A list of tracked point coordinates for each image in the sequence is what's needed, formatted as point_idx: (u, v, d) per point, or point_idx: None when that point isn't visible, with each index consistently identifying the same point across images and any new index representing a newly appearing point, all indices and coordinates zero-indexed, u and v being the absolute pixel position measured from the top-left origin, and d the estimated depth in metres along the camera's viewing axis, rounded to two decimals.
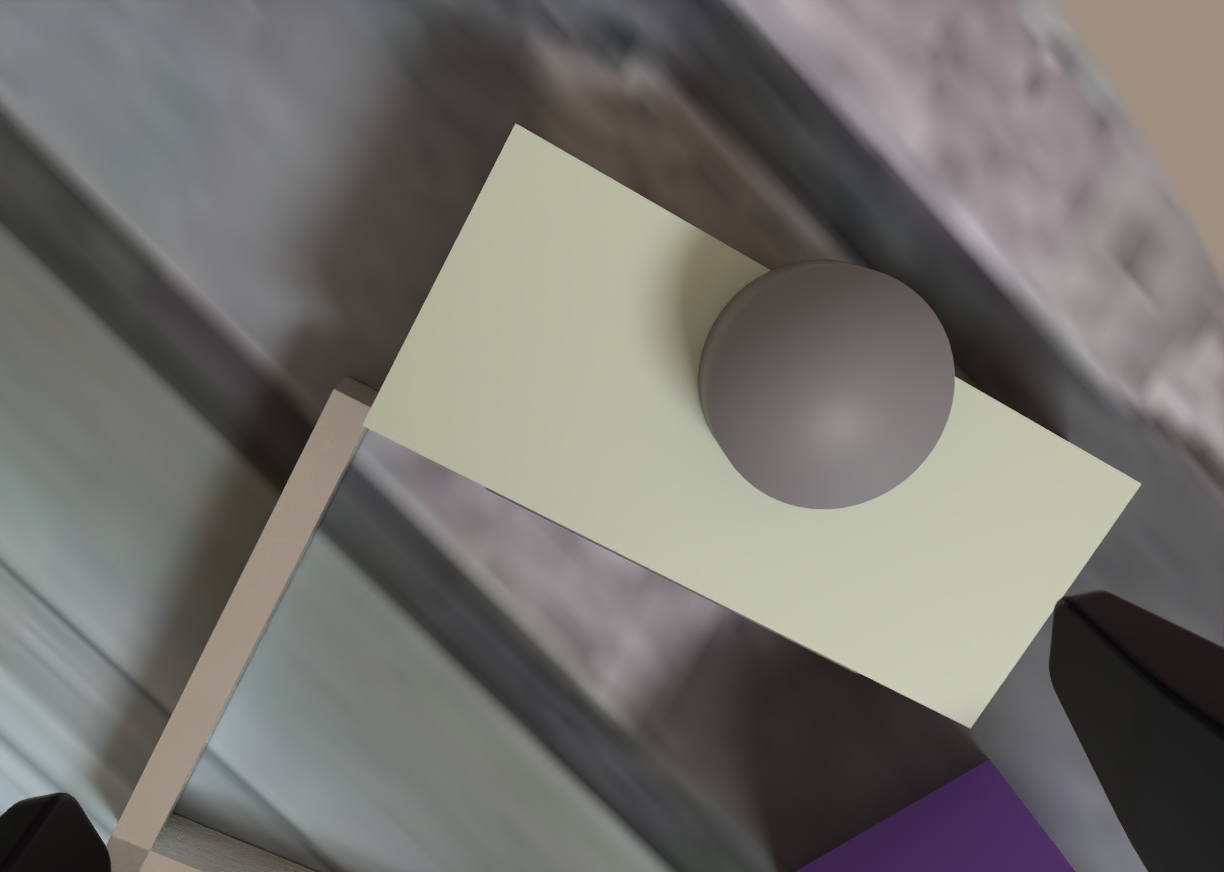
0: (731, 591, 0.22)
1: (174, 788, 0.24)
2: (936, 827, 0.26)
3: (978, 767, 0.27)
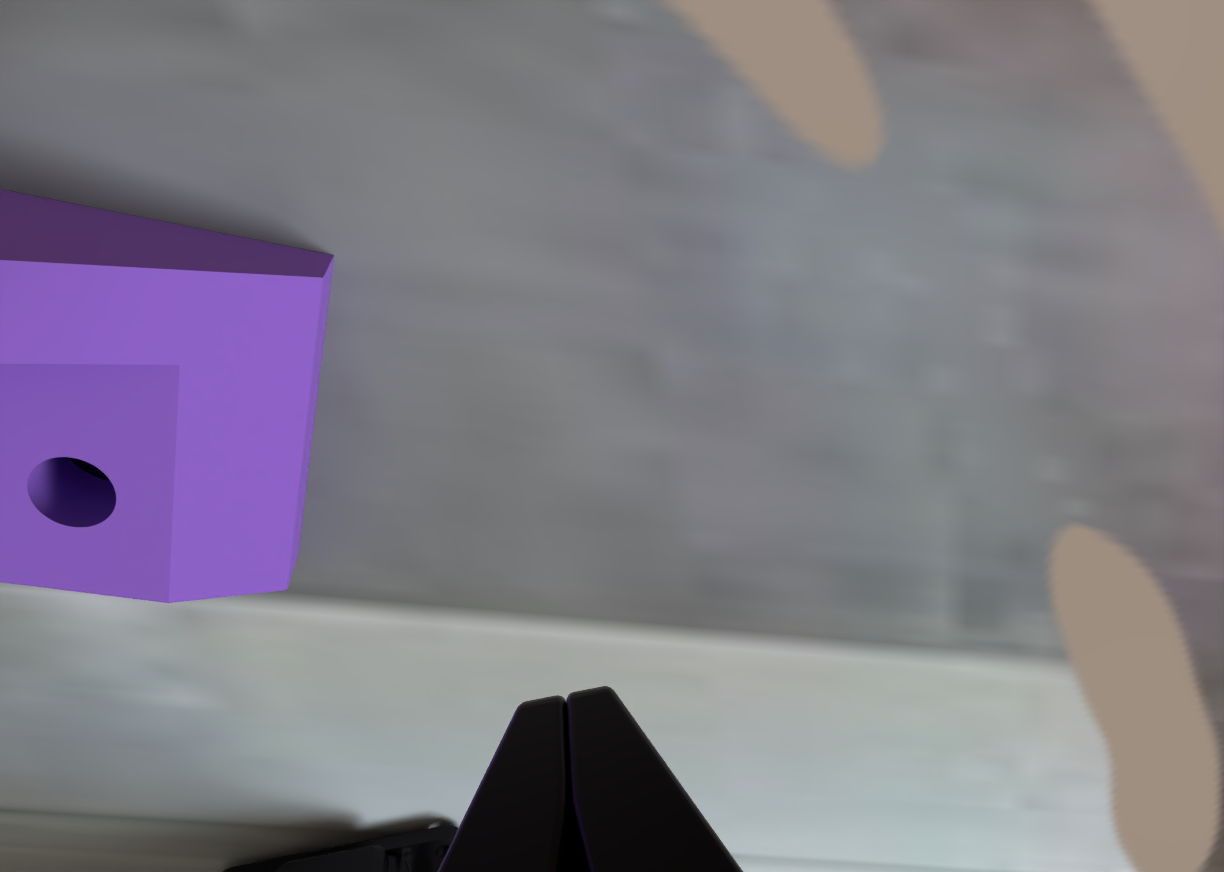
0: None
1: None
2: None
3: None
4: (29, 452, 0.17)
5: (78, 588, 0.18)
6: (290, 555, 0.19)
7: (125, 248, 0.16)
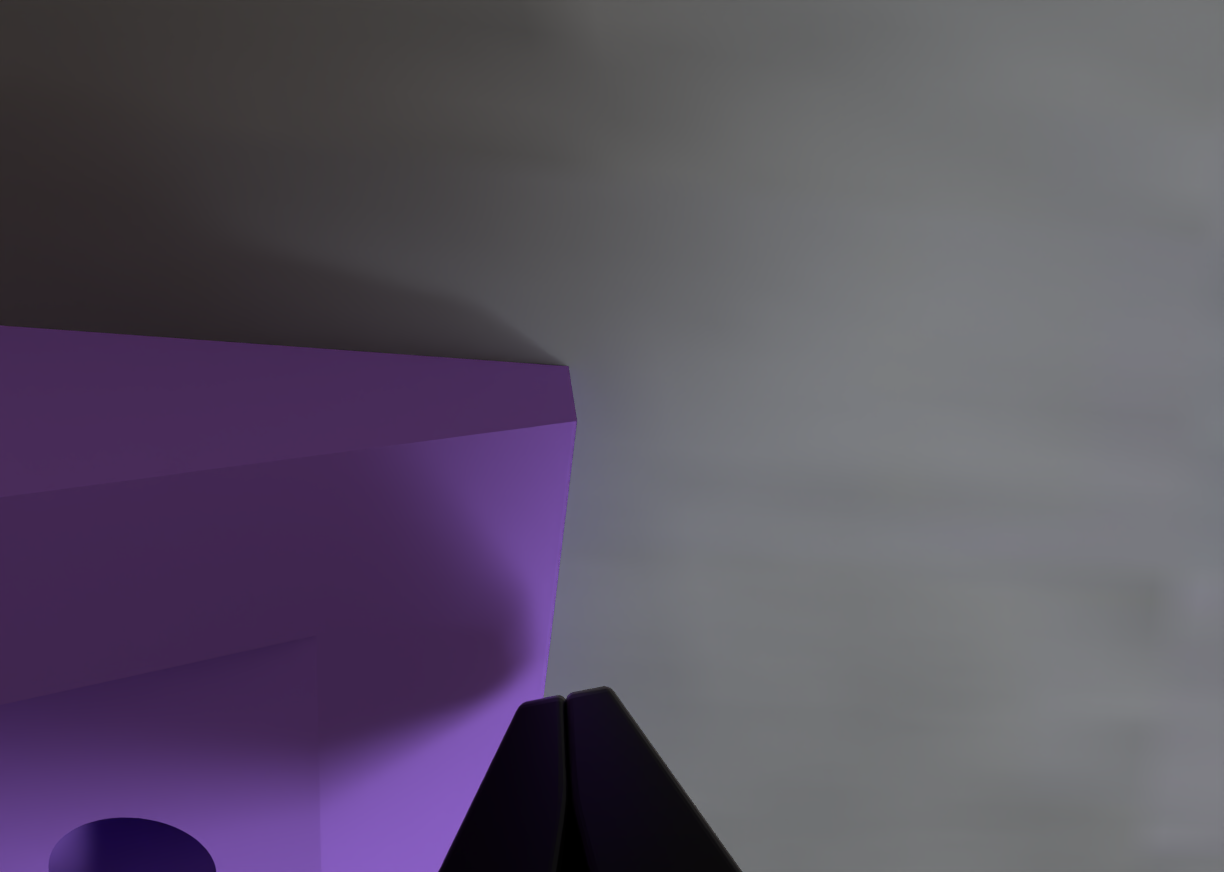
0: None
1: None
2: None
3: None
4: (44, 819, 0.09)
5: None
6: None
7: (183, 420, 0.07)
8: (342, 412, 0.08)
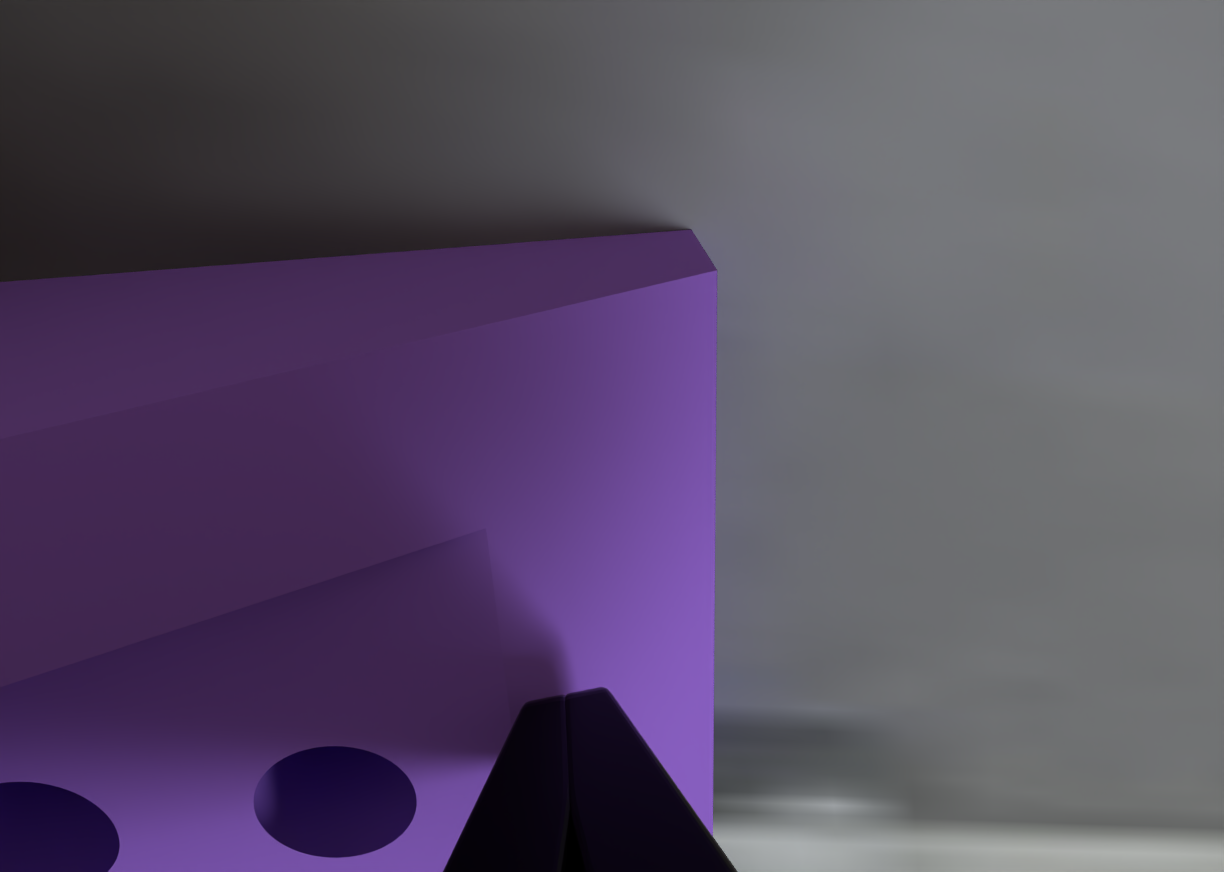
0: None
1: None
2: None
3: None
4: (244, 757, 0.09)
5: None
6: (711, 785, 0.11)
7: (325, 319, 0.07)
8: (478, 294, 0.08)
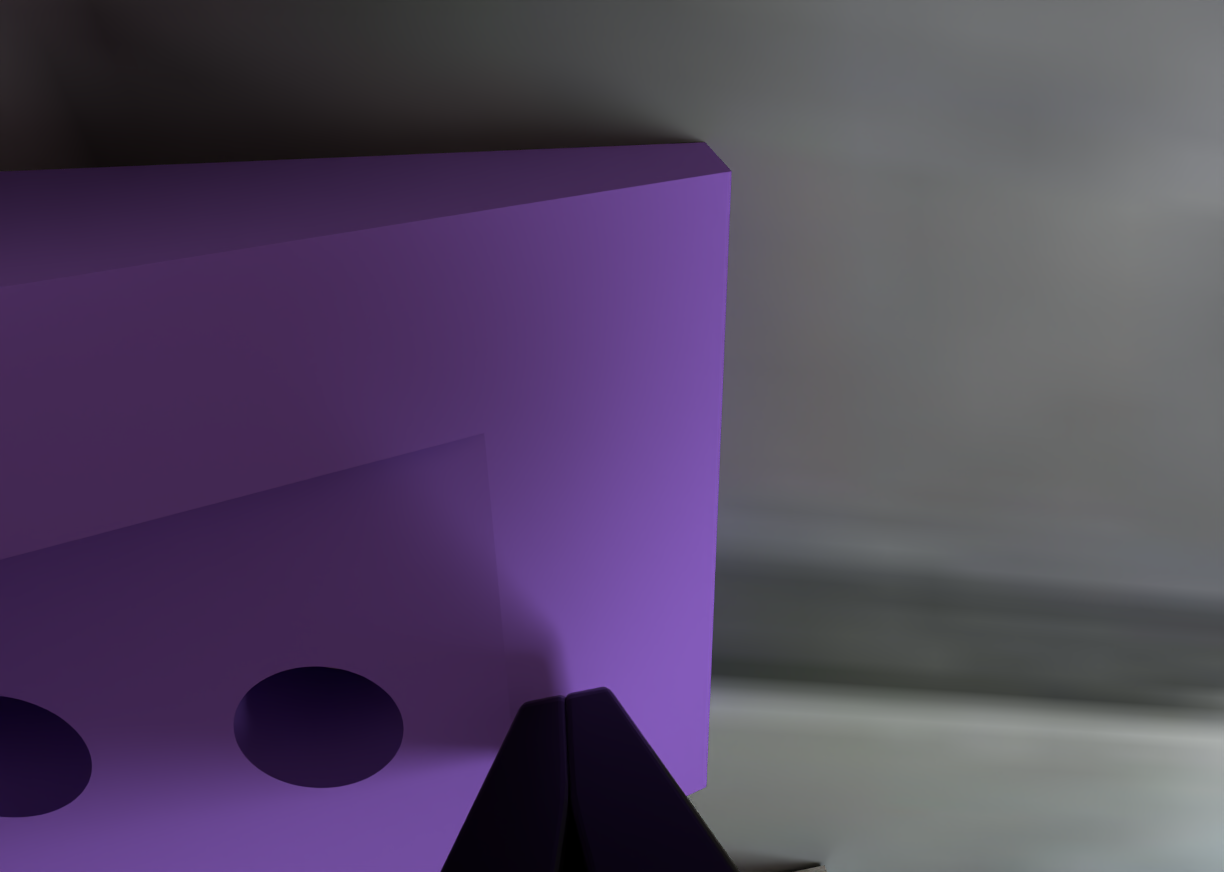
0: None
1: None
2: None
3: None
4: (224, 675, 0.08)
5: None
6: (707, 729, 0.10)
7: (321, 203, 0.07)
8: (482, 186, 0.07)
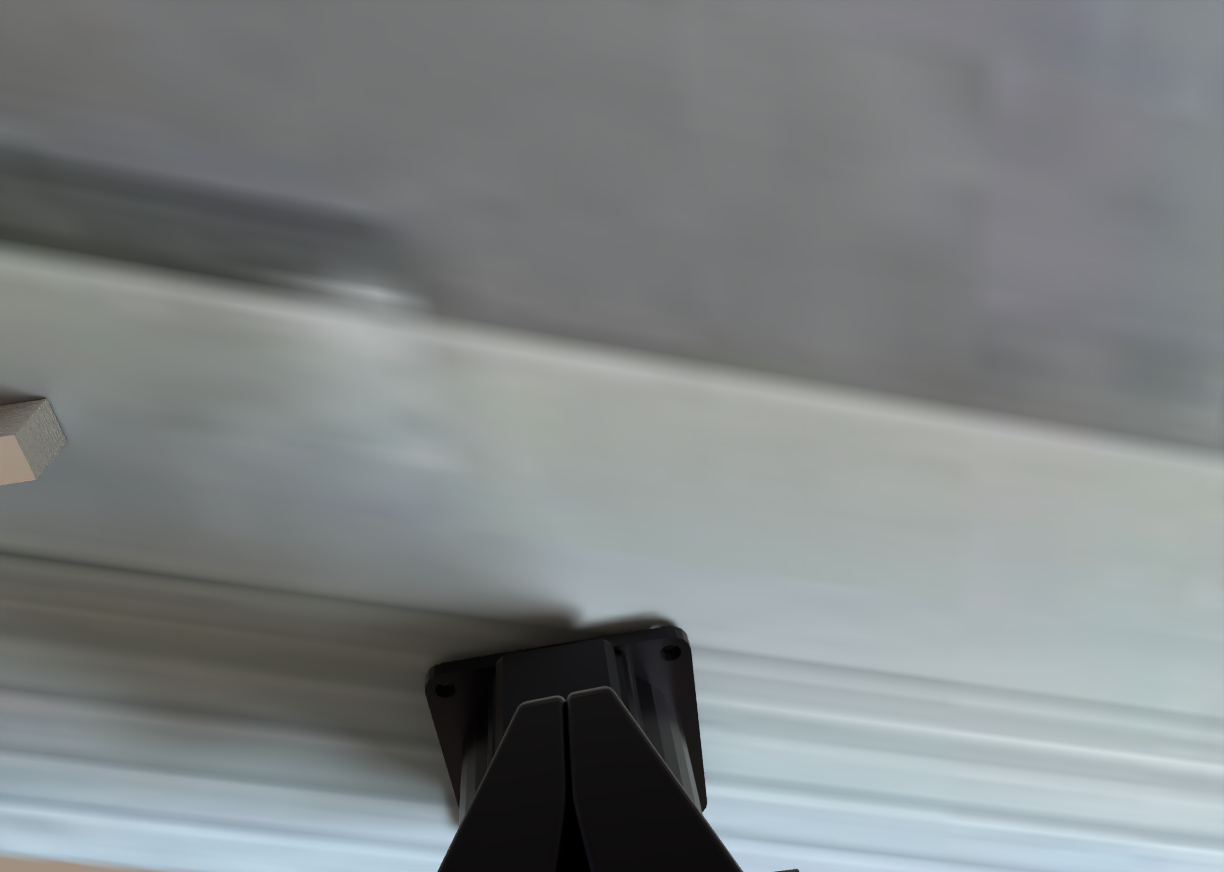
0: None
1: None
2: None
3: None
4: None
5: None
6: None
7: None
8: None
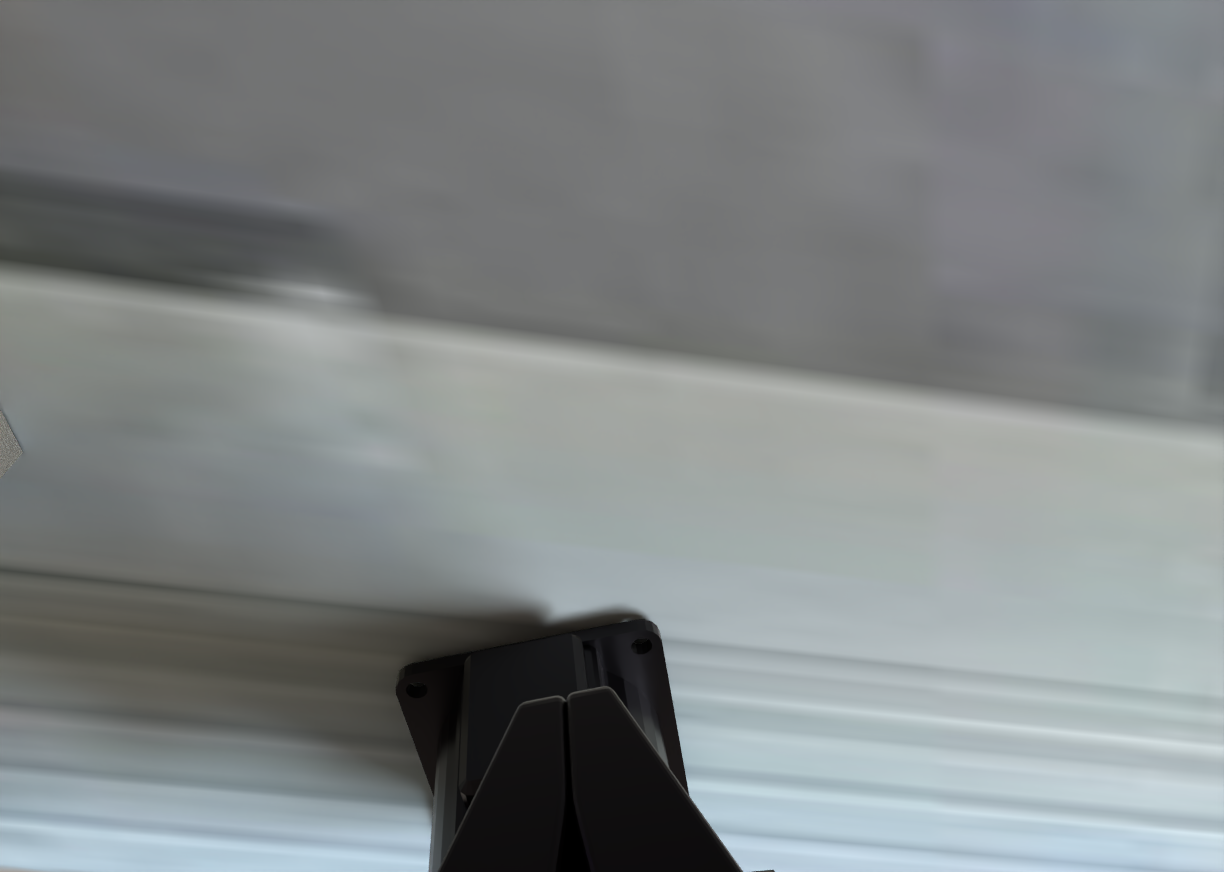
0: None
1: None
2: None
3: None
4: None
5: None
6: None
7: None
8: None
